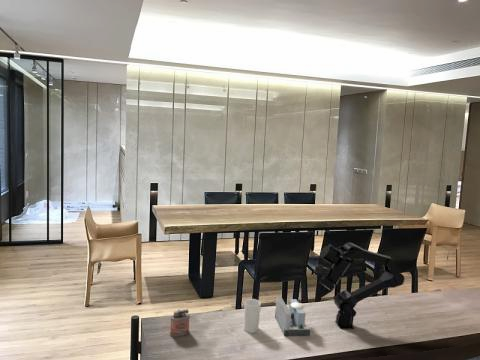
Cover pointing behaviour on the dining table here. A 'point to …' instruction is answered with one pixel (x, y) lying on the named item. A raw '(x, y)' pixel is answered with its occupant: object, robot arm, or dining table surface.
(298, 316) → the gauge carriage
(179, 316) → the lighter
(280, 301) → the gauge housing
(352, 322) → the robot arm
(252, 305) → the mug
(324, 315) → the dining table surface
